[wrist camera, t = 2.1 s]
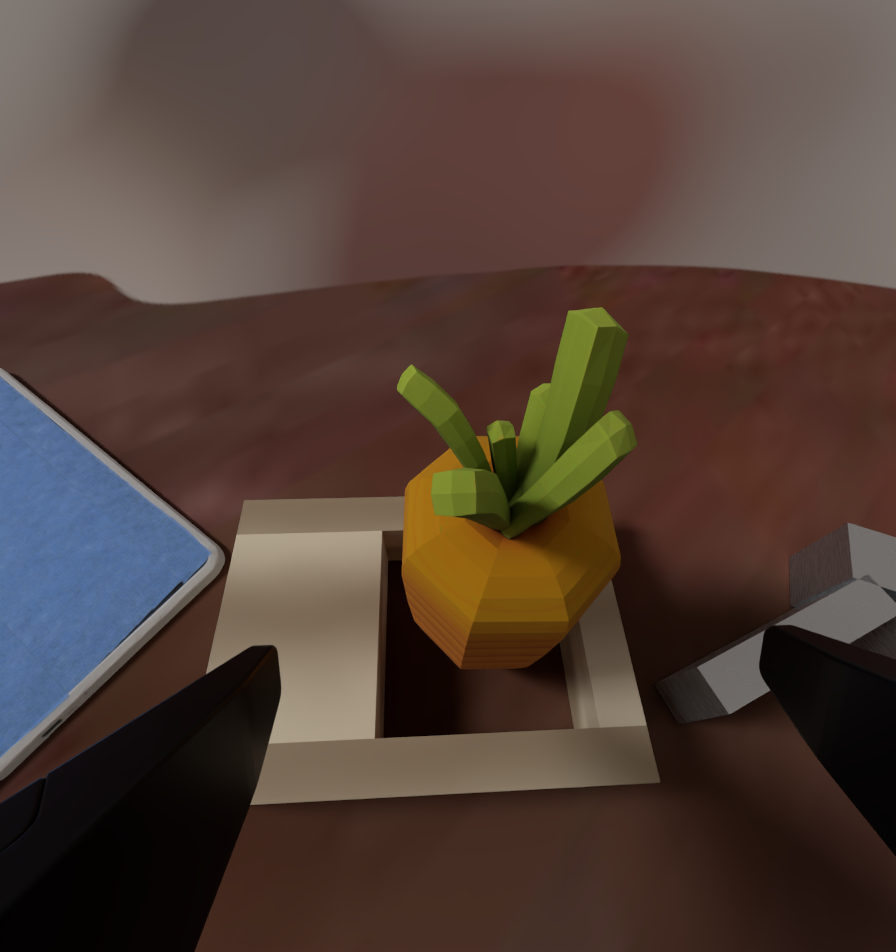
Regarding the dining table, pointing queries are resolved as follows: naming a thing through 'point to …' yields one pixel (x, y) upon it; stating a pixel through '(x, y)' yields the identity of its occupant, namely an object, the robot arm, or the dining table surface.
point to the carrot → (518, 508)
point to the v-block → (801, 621)
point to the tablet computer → (77, 569)
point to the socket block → (363, 670)
